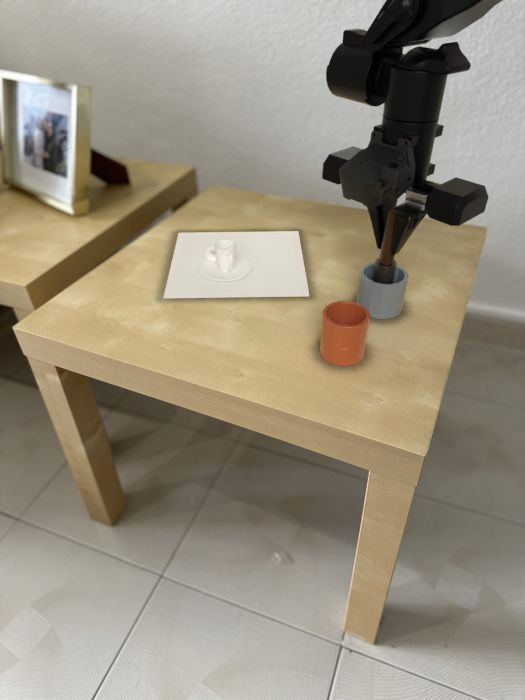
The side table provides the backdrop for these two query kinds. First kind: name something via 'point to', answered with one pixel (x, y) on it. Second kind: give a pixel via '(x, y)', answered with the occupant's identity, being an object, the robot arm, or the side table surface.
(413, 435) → the side table surface
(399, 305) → the cup
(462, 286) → the side table surface
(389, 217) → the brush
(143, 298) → the side table surface
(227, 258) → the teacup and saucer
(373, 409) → the side table surface
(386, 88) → the robot arm
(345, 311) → the holder
